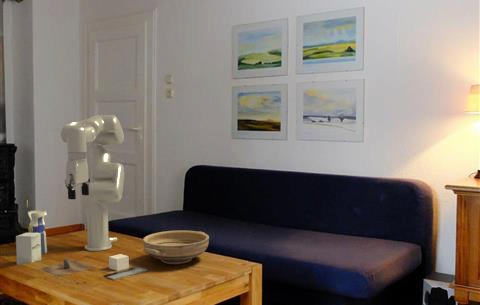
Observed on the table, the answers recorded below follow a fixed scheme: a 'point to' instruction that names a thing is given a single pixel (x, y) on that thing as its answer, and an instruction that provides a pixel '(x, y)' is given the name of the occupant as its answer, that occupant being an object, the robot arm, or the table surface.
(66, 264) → the tan square base plate
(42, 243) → the spray bottle
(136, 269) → the gray square plate
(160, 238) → the ceramic bowl
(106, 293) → the table surface
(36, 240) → the supplement box
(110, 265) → the cream cube
